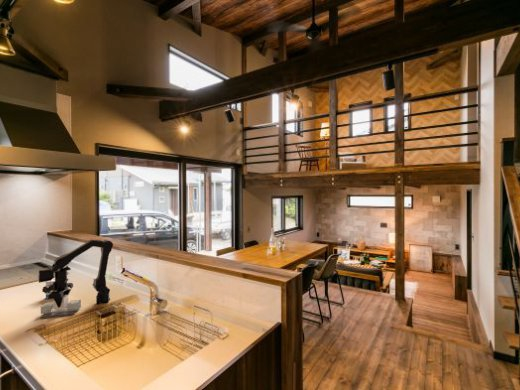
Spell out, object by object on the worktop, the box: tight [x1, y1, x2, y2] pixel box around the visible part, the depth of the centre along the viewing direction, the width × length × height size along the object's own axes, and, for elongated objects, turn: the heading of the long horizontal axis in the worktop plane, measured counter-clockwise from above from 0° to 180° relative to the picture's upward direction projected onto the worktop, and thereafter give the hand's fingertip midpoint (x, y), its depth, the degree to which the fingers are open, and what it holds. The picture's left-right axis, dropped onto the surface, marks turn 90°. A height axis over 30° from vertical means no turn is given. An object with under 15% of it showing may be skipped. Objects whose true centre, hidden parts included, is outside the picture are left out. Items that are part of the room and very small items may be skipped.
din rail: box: [40, 298, 82, 320], centre depth 159 cm, size 18×12×6 cm, turn 106°
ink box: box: [45, 278, 55, 300], centre depth 182 cm, size 8×5×12 cm, turn 105°
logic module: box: [53, 295, 69, 310], centre depth 159 cm, size 5×6×6 cm
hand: (61, 305), depth 159 cm, fingers closed on logic module, 6 cm apart
